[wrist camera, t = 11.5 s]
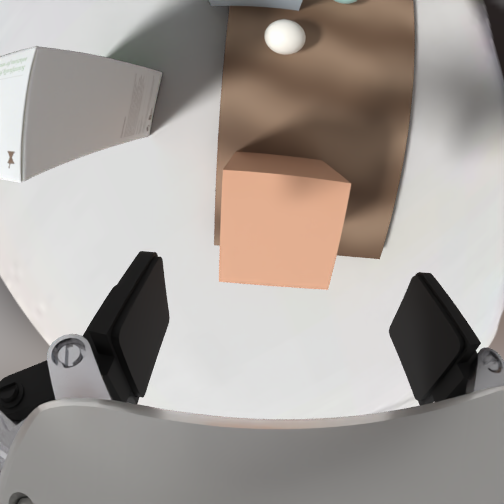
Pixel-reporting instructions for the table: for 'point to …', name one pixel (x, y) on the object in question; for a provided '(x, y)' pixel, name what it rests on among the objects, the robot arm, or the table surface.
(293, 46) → the marble ivory
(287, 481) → the robot arm
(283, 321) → the table surface
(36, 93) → the skincare box
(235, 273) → the peach cube block
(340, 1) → the marble teal
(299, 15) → the walnut board
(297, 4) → the pale blue cube
